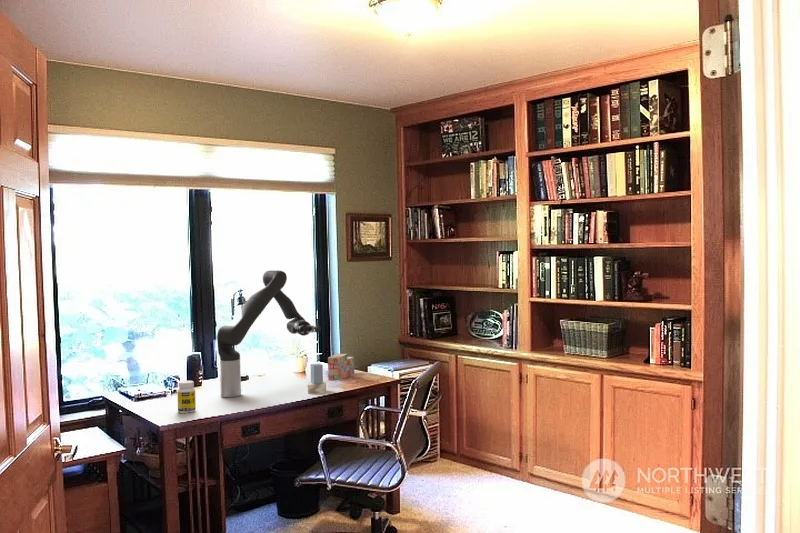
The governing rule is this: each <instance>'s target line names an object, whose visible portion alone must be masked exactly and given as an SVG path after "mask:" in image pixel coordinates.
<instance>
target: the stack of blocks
mask: <svg viewBox="0 0 800 533" xmlns="http://www.w3.org/2000/svg"><path fill="white" fill-rule="evenodd" d="M354 357H355V356H348V353H336V354H333V355H331V356H329V357H327V370H328V371H327V372H328V376H327V377H328V379H327V380H328V381H337V380H339V381H341V380H343V378H344V379H345V377H346V376H347V377H349V376H351V375H354V374H355V358H354ZM348 375H349V376H348ZM347 377H346V378H347ZM340 379H341V380H340Z"/></svg>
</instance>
